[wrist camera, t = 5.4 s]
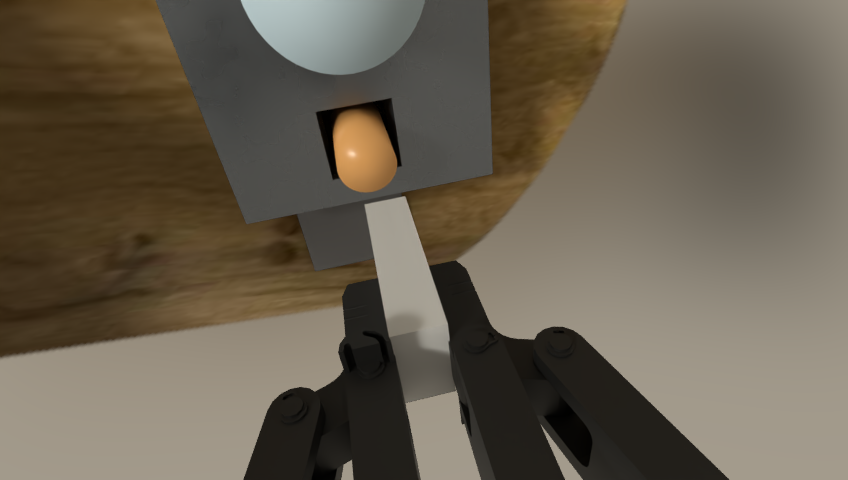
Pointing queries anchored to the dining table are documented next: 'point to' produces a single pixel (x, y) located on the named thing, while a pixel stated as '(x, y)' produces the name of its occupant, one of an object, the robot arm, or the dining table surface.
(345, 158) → the plunger
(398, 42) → the cartridge
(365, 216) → the mat
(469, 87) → the housing
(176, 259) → the dining table surface
